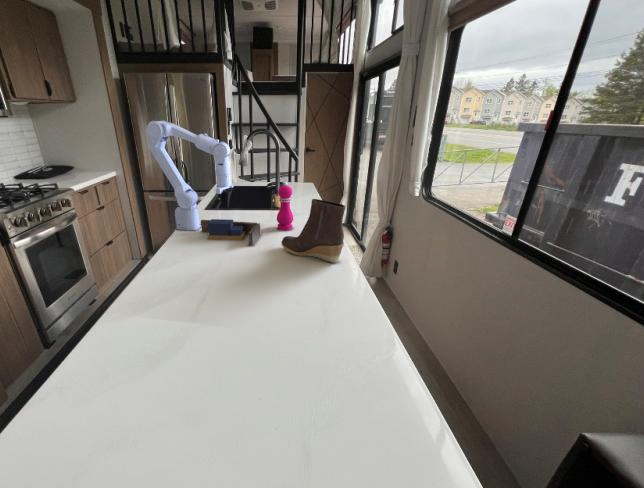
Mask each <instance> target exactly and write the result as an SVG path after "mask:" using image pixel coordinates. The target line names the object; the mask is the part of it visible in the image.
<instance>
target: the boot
mask: <svg viewBox="0 0 644 488" xmlns="http://www.w3.org/2000/svg"><path fill="white" fill-rule="evenodd" d="M346 207H347V206H346V205H344V204H343V203H340V202H336V201H329V200H324V199H318V198H312V199H311V206H310V211H309V215H308V218H307V220H306V223H305V224H304V225H303V228H302V230H301V232H300V233H299V235H297V236H292V235H285V236H284V237H283V238H282V239H281V246H282V247H283V249H284V250H286V251H287V252H288V253H291V254H292V255H295V256H302V257H304V256H305V257H306V256H307V257H308V256H309V257H315V258H319V259H321V260H323V261H326V262H328V263H334V264H335V263H337V262H339V259H340V256H341V253H342V249H343V248H344V245H345V242H344V241H345V233H344V227H343V220H344V216H345V215H344V214H345V211H346Z"/></svg>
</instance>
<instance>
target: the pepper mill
mask: <svg viewBox="0 0 644 488" xmlns="http://www.w3.org/2000/svg"><path fill="white" fill-rule="evenodd" d="M277 194H278V196H279V200H278V202H280V203H279V205H280V207H279V210H278V212H277V214H276V222H277V230H279V231H283V232H286V231H287V232H288V231H291V230H292V229H293V224H292V223H294V214H293V212H292V209H291V202H292V197H291V196H292V195H293V188H292V187H291V186H289V185H288V182H287V181H283V183H282V185H281V186H279V188H278V190H277Z"/></svg>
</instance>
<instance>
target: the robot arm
mask: <svg viewBox="0 0 644 488" xmlns="http://www.w3.org/2000/svg"><path fill="white" fill-rule="evenodd" d="M145 135H146V136H147V141H148V148H149V151H150V153H151V154H152V156H153V157H154V159H155V160H156V162H157V164H158V166H159V167H160V169H161V170H162V172H163V173H164V175H165V176H166V179H167V180H168V181H169V183H170V184H171V186H172V188H173V190H174V197H175V198H176V203H177V207H176V208H175V210H174V219H175V225H176V228H175V230H181V231H182V230H183V231H197V230H199V229H201V223H200V220H199V219H200V218H199V208H198V204H197V202H198V200H199V195H198V193H197V192H196V191H195V190H194V189H192V187H191V186H190V184H187V183H186V181H185V179H184V178H183V177H182V175H181V173H180V171H179V169H178V168H177V166H176V165H175V163H174V161H173V159H171V157H170V155H169V154H168V151H167V150H166V148H165V147H166V143H167V141H168V139H169V138H170V137H173V136H174V137H177V138H180V139H183V140H185V141H187V142H190V143H193V144H194V145H195V147H196V149H198V150H201V151H202V152H204V153H208V154H210V155H213V157H214V162H215V163H214V165H215V178H216V188H215V194H216V195H217V196H218V198H219V200H220V203H221V206H222V208H229V206H230V199H231V196H232V193H233V188H234V187H235V185H234V184H233V182H232V180H231V179H232V177H231V166H230V165H231V163H230V153H231V148H230V146H229V144H228V143H226V142H225V141H220V140H219V139H218V138H217V139H215V138H212V137H210V136H209V134H207V133H206V132H205V133H204V134H203V133H200V134H196V133H194V132H191V131H190V130H187V129H185V128H183V127H182V126H179V125H177V124H176V123H173V122H169V121H167V120H158V121H157V120H151V121H150V122H149V123H148V124H147V126H146V129H145Z"/></svg>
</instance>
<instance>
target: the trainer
mask: <svg viewBox="0 0 644 488" xmlns="http://www.w3.org/2000/svg"><path fill="white" fill-rule="evenodd" d="M209 220H210V222H209V223H208V229H209V232H208V234H207V239H208V240H230V241H231V240H232V241H243V240H244V238H245V236H246V235H245V231H243V226H234V224H233V221H234V219H222V218H219V219H218V218H217V219H216V218H212V219H209Z"/></svg>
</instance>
